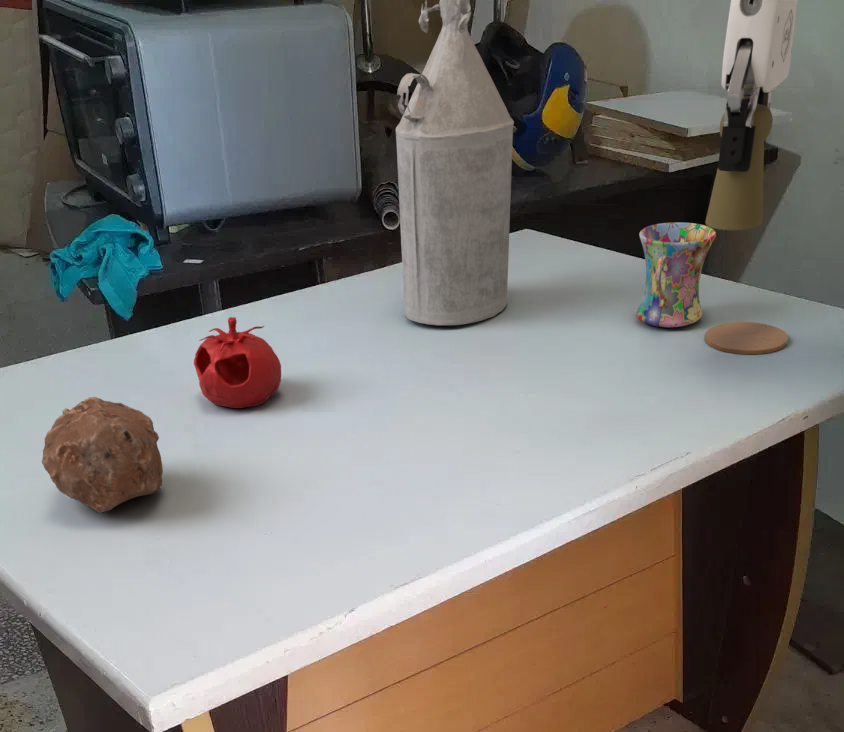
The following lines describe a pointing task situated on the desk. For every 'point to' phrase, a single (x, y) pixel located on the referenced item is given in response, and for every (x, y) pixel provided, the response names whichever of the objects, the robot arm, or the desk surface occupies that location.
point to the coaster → (746, 338)
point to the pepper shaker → (741, 184)
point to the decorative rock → (103, 454)
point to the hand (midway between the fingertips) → (741, 162)
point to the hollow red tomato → (237, 368)
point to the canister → (454, 181)
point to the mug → (673, 272)
